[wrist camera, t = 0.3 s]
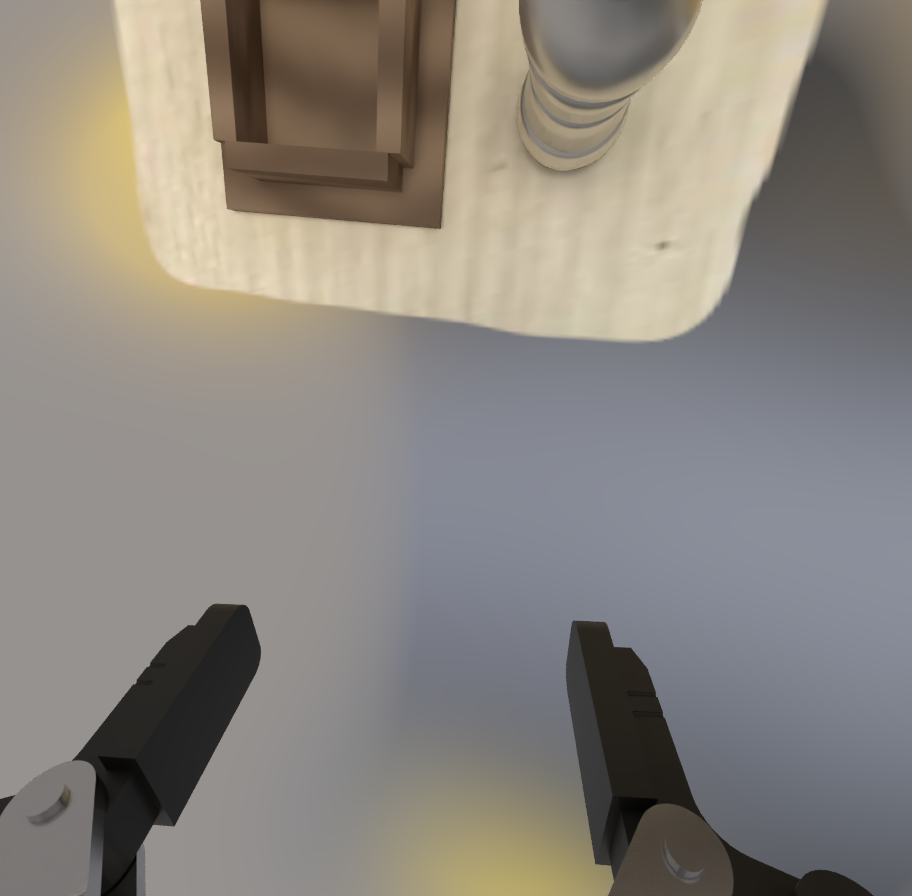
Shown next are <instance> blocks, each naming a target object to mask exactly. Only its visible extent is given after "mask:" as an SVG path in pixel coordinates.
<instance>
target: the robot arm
mask: <svg viewBox="0 0 912 896" xmlns="http://www.w3.org/2000/svg"><path fill="white" fill-rule="evenodd" d="M260 657H261V647H260V644H259V640H258V637H257V634H256V630H255V627H254V624H253V621H252V617H251V614H250V611H249V608H248V607H247V606H246V605H233V604H213V605H212V606H210V607H209V608H208V609H207V610H206V612H205V613H204V614H203V616H202V617H201V618H200V620H199V621H198V623H197V624H196V625H195V626H193V625H188V626H187V627H185V628H184V629H183V630H182V631H180V632H179V633H178V634H177V635H175V636H174V637H173V638H171V639H170V640H169V641H168V642H166V644H165V645H164V646H163V647H162V649H161V650H160V651H159V653H158V654H157V655H156V656H155V658H154V659H153V660H152V661H151V663H150V666H149V667H147V668H146V669H145V670H144V671H143V673H142V674H141V675H140V677H139V678H138V679H137V683H136V684H135V685H133V686H132V687H131V688H130V689H129V691H128V692H127V693H126V694H125V696H124V697H123V698H122V699H121V701H120V702H119V703H118V704H117V706H116V707H115V708H114V710H113V711H112V712H111V713H110V715H109V716H108V717H107V719H106V720H105V721H104V722H103V724H102V725H101V726H100V727H99V729H98V730H97V731H96V732H95V734H94V735H93V736H92V737H91V739H90V740H89V741H88V743H87V744H86V745H85V746H84V748H83V749H82V750H81V751H80V752H79V754H78V755H77V756H76V757H75V758H74V759H73V760H72V761H69V762H65V763H62V764H59V765H57V766H54V767H52V768H51V769H49V770H47V771H45V772H43V773H42V774H40V775H39V776H37V777H36V778H34V779H33V780H32V781H30V782H29V783H28V784H27V785H26V786H25V787H24V788H22V789H21V790H20V791H19V792H18V793H17V795H14V796H10V797H6V798H3V799H0V896H145V848H144V844H143V841H144V840H145V838H146V836H147V834H148V833H149V831H150V829H151V827H152V825H163V826H175V824H176V822H177V820H178V818H179V816H180V815H181V813H182V811H183V809H184V807H185V805H186V804H187V802H188V800H189V798H190V796H191V794H192V792H193V790H194V789H195V787H196V785H197V783H198V781H199V779H200V777H201V775H202V774H203V772H204V770H205V768H206V766H207V764H208V762H209V760H210V758H211V757H212V755H213V753H214V751H215V749H216V747H217V745H218V743H219V742H220V740H221V738H222V736H223V734H224V732H225V730H226V728H227V727H228V725H229V723H230V721H231V719H232V717H233V715H234V713H235V712H236V710H237V708H238V706H239V704H240V701H241V700H242V698H243V696H244V695H245V693H246V691H247V689H248V687H249V685H250V683H251V681H252V680H253V678H254V676H255V674H256V672H257V669H258V666H259V662H260ZM566 682H567V692H568V698H569V704H570V710H571V717H572V722H573V729H574V735H575V741H576V748H577V754H578V759H579V766H580V771H581V778H582V784H583V791H584V797H585V803H586V809H587V815H588V821H589V827H590V834H591V840H592V845H593V851H594V858H595V864H600V865H611V867H612V873H613V878H614V883H613V885H612V888H611V890H610V892H609V895H608V896H873V895H872V894H871V893H870V892H868V891H867V890H866V889H864V888H863V887H862V886H860V885H859V884H857V883H856V882H854V881H853V880H851V879H849V878H847V877H845V876H843V875H840V874H838V873H836V872H832V871H827V870H815V871H811V872H809V873H807V874H805V875H804V876H803V877H802V878H801V879H798V878H796V877H794V876H791V875H789V874H787V873H784V872H782V871H780V870H778V869H775V868H773V867H771V866H769V865H766V864H764V863H762V862H759V861H757V860H755V859H753V858H750V857H749V856H747V855H745V854H743V853H741V852H739V851H738V850H736V849H735V848H733V847H732V846H730V845H729V844H728V843H727V842H726V841H724V840H723V839H722V838H721V837H720V836H719V835H718V834H717V833H716V832H715V831H714V830H713V829H712V828H711V827H710V825H709V824H708V823H707V822H706V820H705V819H704V817H703V816H702V814H701V813H700V811H699V809H698V808H697V806H696V804H695V801H694V799H693V796H692V794H691V791H690V788H689V785H688V782H687V780H686V777H685V774H684V771H683V768H682V765H681V762H680V760H679V757H678V754H677V751H676V748H675V745H674V743H673V740H672V737H671V734H670V731H669V729H668V726H667V723H666V720H665V718H664V717H663V712H662V709H661V706H660V703H659V700H658V697H656V692H655V689H654V686H653V683H652V680H651V677H650V675H649V672H648V669H647V668H646V666H645V665H644V664H643V662H642V661H641V660H640V659H639V657H638V656H637V655H636V654H635V653H634V651H633V650H632V649H631V648H622V647H614V646H613V643H612V639H611V636H610V632H609V629H608V626H607V624H606V623H605V622H590V621H573V622H572V626H571V633H570V640H569V648H568V656H567V663H566Z"/></svg>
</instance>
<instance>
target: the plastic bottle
mask: <svg viewBox="0 0 912 896" xmlns="http://www.w3.org/2000/svg"><path fill="white" fill-rule="evenodd" d="M702 2H703V0H519V14H520V24H521V30H522V36H523V42H524V45H525V49H526V52H527V56H528V59H529V67H530V69H529V71H528V73H527V74H526V76H525V79H524V82H523V85H522V88H521V90H520V93H519V97H518V103H517V125H518V130H519V134H520V136H521V139H522V142H523V143H524V145H525V147H526V148H527V150H528V151H529V153H530V154H531V155H532V156H533V157H534V158H535V159H536V160H537V161H538V162H539V163H541V164H542V165H544V166H546V167H548V168H551V169H554V170H561V171H566V170H574V169H577V168H581V167H584V166H586V165H588V164H590V163H592V162H594V161H596V160H597V159H598V158H600V157H601V156H602V155H604V154H605V153H606V152H607V151H608V150H609V148H610V147H611V146H612V145H613V144H614V142H615V141H616V139H617V138H618V136H619V135H620V132H621V130H622V128H623V125H624V123H625V120H626V116H627V113H628V109H629V105H630V99H631V97H632V96H633V95H634V94H635V93H636V92H637V91H638V90H639V89H641V88H642V87H643V86H644V85H646V84H647V83H648V82H649V81H651V80H652V79H653V78H654V77H656V76H657V75H658V73H659V72H660V71H661V70H662V69H663V68H664V67H665V66H666V65H667V63H668V62H669V61H670V60H671V59H672V58H673V57H674V56H675V55H676V53H677V52H678V51H679V49H680V48H681V46H682V45H683V43H684V42H685V40H686V39H687V37H688V36H689V34H690V32H691V30H692V28H693V26H694V23H695V21H696V19H697V17H698V15H699V12H700V9H701V5H702Z"/></svg>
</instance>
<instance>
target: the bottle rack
mask: <svg viewBox="0 0 912 896" xmlns="http://www.w3.org/2000/svg"><path fill="white" fill-rule="evenodd" d="M200 1H201V11H202V22H203V32H204V43H205V53H206V64H207V74H208V85H209V95H210V106H211V116H212V127H213V137H214V140H215V141H218V142H220V143H221V148H222V159H223V170H224V181H225V192H226V203H227V209H230V210H234V211H244V212H256V213H267V214H279V215H290V216H302V217H314V218H325V219H337V220H348V221H360V222H371V223H383V224H394V225H406V226H417V227H429V228H441V213H442V198H443V183H444V168H445V153H446V139H447V124H448V109H449V94H450V79H451V64H452V49H453V35H454V20H455V5H456V0H200Z"/></svg>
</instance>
